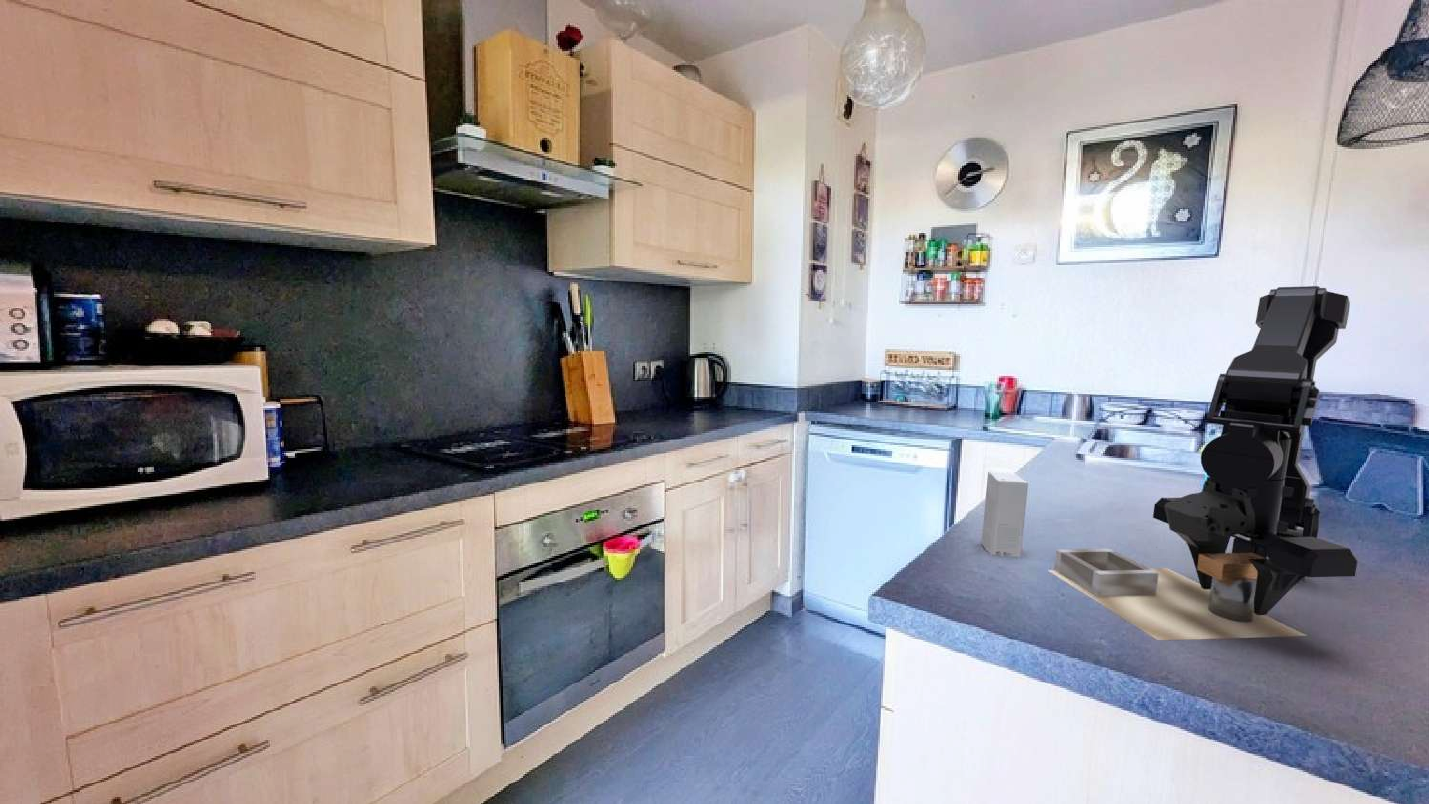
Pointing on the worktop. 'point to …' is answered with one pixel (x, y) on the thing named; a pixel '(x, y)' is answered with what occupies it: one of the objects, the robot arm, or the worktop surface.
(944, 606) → the worktop surface
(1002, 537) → the skincare box
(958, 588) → the worktop surface
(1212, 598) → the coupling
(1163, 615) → the base
